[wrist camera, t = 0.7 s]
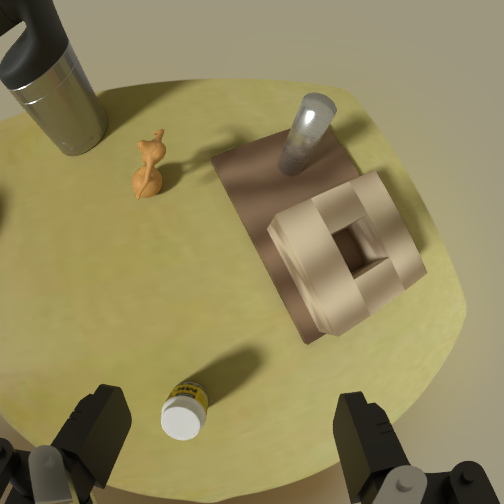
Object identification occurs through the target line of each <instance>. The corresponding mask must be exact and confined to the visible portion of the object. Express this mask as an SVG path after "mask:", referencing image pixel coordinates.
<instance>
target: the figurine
mask: <svg viewBox="0 0 504 504" xmlns="http://www.w3.org/2000/svg"><path fill="white" fill-rule="evenodd" d="M155 134H156V135H157V136H156V137H155V138H154V139H153V140H152V141H145V140H142V141H139V142H138V149H139V150H140V151H141V152H142V161H143V162H144V163H145V164H147V165H144V166H142V167H141V168H140V169H139V170H137V171H136V172H135V174H134V176H133V178H132V187H133V189H134V191H135V193H136V196H137V198H138V200H139V198H140V196H141V197H152V196H154V195H155V194H157V193H158V192H159V190H160V189H161V186H162V176H161V174H160V172H159V171H158V170H157V169H155V167H154V165H155V164H157V163H158V162H159V161H160V160H162V159H163V157H164V156H165V154H166V147H165V145H164V144H163V143H162V142H161V139H162V137H163V134H164V130H163V129H161V130H158V131H157V132H155V133H154V134H153V135H155Z"/></svg>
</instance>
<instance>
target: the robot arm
mask: <svg viewBox="0 0 504 504" xmlns="http://www.w3.org/2000/svg"><path fill="white" fill-rule="evenodd" d="M22 21H24V22H25V23H26V26H27V27H26V29H25V31H24V32H23V33H22V35H21V36H20V37H19V38H18V40H17V41H16V42H15V43H14V44H13V45H12V47H11V48H10V49H9V50H8V52H7V53H6V55H5V56H4V58H3V60H2V61H1V64H0V79H1V81H2V82H3V84H4V85H5V86H6V87H7V89H8V90H9V91H10V92H11V94H12V95H13V96H14V97H15V98H16V100H17V101H18V102H19V103H20V104H21V106H22V107H23V108H24V109H25V110H26V112H27V113H28V114H29V115H30V116H31V117H32V119H33V120H34V121H35V122H36V123H37V124H38V126H39V127H40V128H41V129H42V130H43V131H44V132H45V134H46V135H47V136H48V137H49V138H50V139H51V140H52V141H53V143H54V144H55V145H56V146H57V147H58V148H59V149H60V150H61V151H62V152H63V153H64V154H66V155H70V156H76V155H80V154H83V153H85V152H87V151H88V150H90V149H91V148H93V147H94V146H95V145H96V144H97V143H98V142H99V141H100V140H101V138H102V137H103V135H104V133H105V131H106V129H107V124H108V120H107V116H106V114H105V112H104V110H103V108H102V106H101V104H100V102H99V100H98V98H97V96H96V95H95V93H94V91H93V89H92V87H91V85H90V83H89V81H88V79H87V77H86V75H85V73H84V71H83V69H82V67H81V65H80V63H79V60H78V58H77V56H76V54H75V53H74V51H73V48H72V46H71V44H70V42H69V39H68V37H67V35H66V33H65V31H64V28H63V26H62V24H61V21H60V19H59V16H58V14H57V11H56V9H55V6H54V4H53V1H52V0H0V36H2V35H3V34H5V33H6V32H7V31H9V30H10V29H12V28H13V27H14V26H16V25H17V24H19V23H20V22H22ZM131 422H132V418H131V413H130V410H129V408H128V405H127V403H126V400H125V397H124V394H123V391H122V389H121V388H120V387H116V386H111V385H106V384H101V385H99V387H98V388H97V390H96V391H95V393H94V394H89V395H87V396H86V397H85V398H83V399H82V400H80V402H79V403H78V405H77V406H76V407H75V409H74V412H72V413H71V415H70V416H69V419H67V421H66V422H65V424H64V425H63V427H62V428H61V430H60V431H59V433H58V435H57V436H56V438H55V439H54V441H53V442H52V444H51V445H50V446H49V445H42V446H39V447H37V448H35V449H34V450H33V451H32V452H29V451H22V450H16V449H14V447H13V446H12V445H11V443H10V442H9V441H8V440H6V439H4V438H0V499H1V497H2V495H3V493H4V491H5V489H6V487H7V485H8V483H10V484H11V485H12V486H13V487H12V489H11V491H10V493H9V496H8V497H7V500H6V502H5V504H97V503H96V501H95V498H94V495H93V493H92V492H91V490H92V488H93V486H96V487H99V488H102V489H104V488H105V486H106V483H107V481H108V479H109V476H110V474H111V471H112V469H113V467H114V464H115V462H116V460H117V457H118V455H119V453H120V450H121V448H122V446H123V443H124V441H125V439H126V437H127V434H128V432H129V430H130V427H131ZM333 435H334V439H335V442H336V446H337V450H338V454H339V458H340V462H341V466H342V469H343V473H344V477H345V481H346V485H347V489H348V493H349V497H350V502H351V504H354V503H358V502H361V504H500V502H499V500H498V498H497V496H496V494H495V492H494V489H493V487H492V486H491V483H490V481H489V479H488V477H487V475H486V473H485V471H484V469H483V468H482V467H481V465H479V464H478V463H476V462H473V461H464V462H461V463H459V464H457V465H456V466H455V467H454V468H453V470H452V471H450V472H441V473H424V472H423V471H422V470H421V469H419V468H417V467H414V466H411V465H410V463H409V461H408V459H407V457H406V455H405V453H404V451H403V449H402V446H401V444H400V442H399V440H398V438H397V436H396V433H395V432H394V429H393V428H392V425H391V423H390V421H389V419H388V417H387V415H386V413H385V411H384V410H383V409H382V408H381V407H380V406H378V405H377V404H376V403H370V404H367V401H366V399H365V397H364V395H363V393H362V392H361V391H359V392H352V393H344V394H340V396H339V400H338V404H337V408H336V412H335V416H334V420H333Z"/></svg>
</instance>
